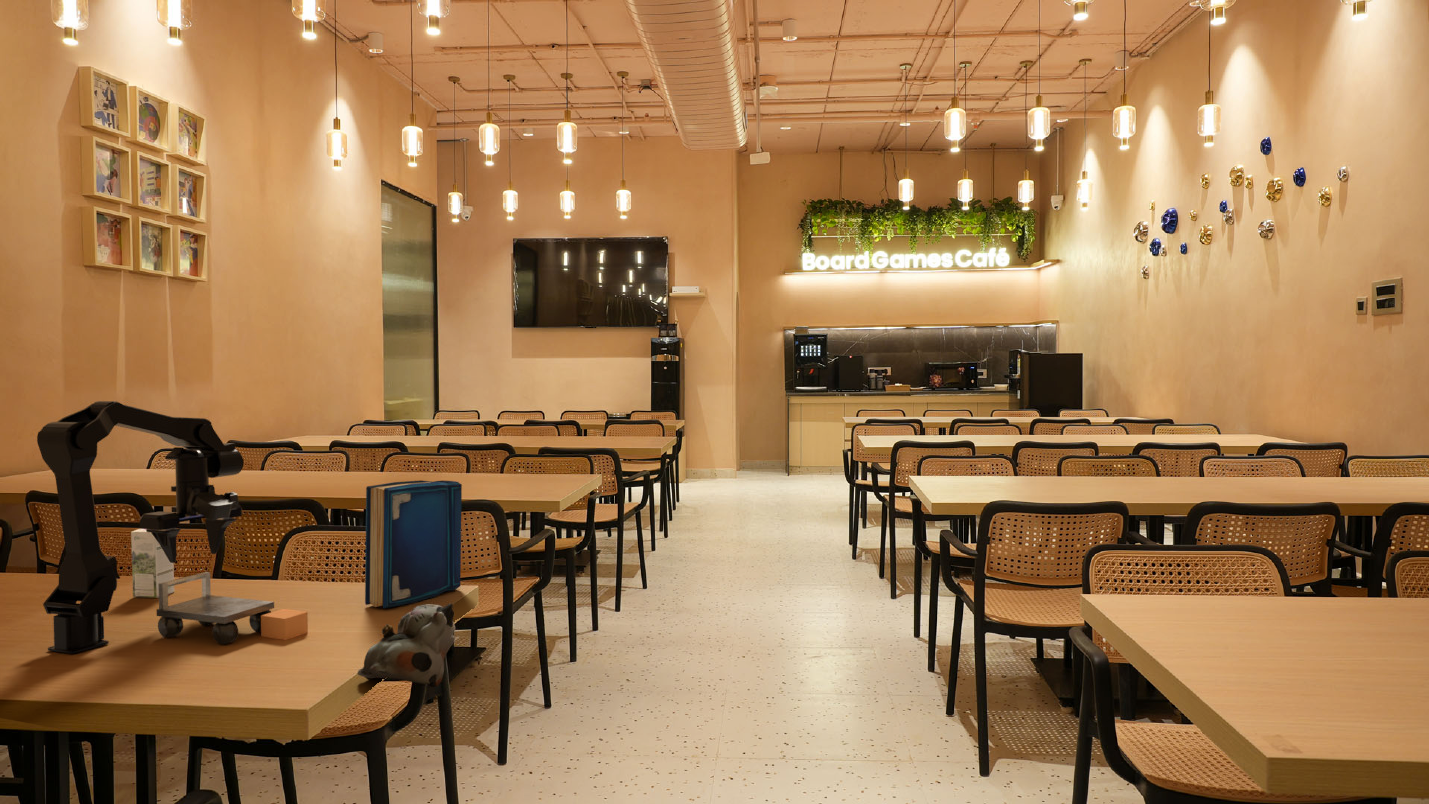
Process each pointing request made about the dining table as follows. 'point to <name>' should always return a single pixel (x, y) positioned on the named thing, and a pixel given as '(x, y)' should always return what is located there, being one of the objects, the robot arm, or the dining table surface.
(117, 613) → the dining table surface
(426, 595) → the book
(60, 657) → the dining table surface
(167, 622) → the platform trolley
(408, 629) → the cat figurine
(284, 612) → the orange rectangular carton
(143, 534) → the syrup box
